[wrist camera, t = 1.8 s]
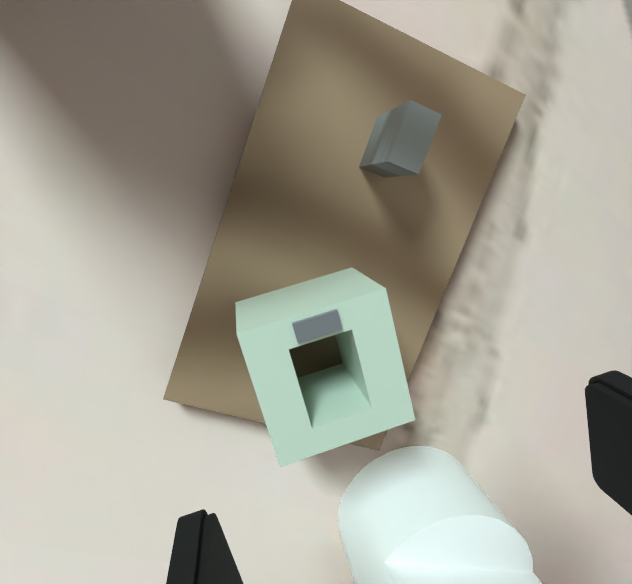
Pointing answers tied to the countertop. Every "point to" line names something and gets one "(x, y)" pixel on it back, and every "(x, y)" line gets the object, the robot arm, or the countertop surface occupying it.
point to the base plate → (345, 191)
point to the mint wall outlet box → (332, 383)
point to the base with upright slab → (427, 525)
